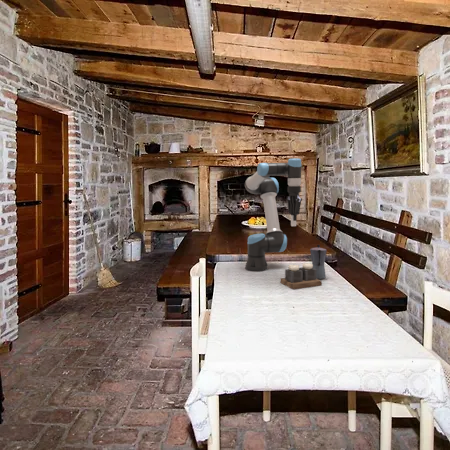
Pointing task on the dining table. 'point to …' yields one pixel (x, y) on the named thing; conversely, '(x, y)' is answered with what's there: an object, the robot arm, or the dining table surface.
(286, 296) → the dining table surface
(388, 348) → the dining table surface
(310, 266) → the plunger far
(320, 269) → the moka pot
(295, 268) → the plunger near
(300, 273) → the mount
